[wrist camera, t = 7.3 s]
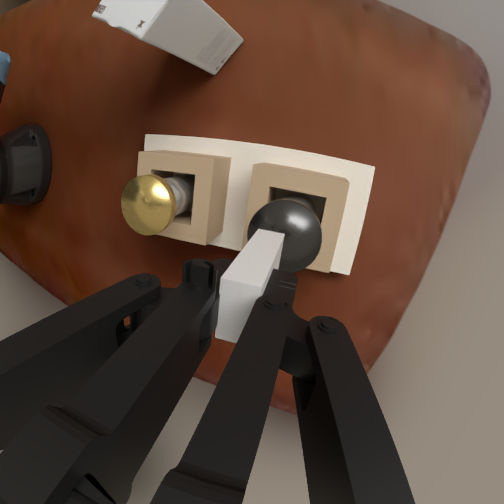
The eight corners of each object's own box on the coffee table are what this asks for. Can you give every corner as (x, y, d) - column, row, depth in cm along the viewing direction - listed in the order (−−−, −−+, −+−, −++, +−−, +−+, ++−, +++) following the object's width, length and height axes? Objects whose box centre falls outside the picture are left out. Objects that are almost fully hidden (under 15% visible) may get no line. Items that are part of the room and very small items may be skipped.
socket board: (148, 224, 37) (116, 240, 31) (154, 134, 33) (119, 133, 26) (348, 268, 33) (352, 296, 26) (371, 166, 28) (385, 169, 22)
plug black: (267, 230, 30) (242, 264, 21) (275, 181, 28) (252, 194, 19) (317, 241, 29) (312, 280, 20) (327, 191, 27) (329, 209, 19)
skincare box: (245, 40, 26) (191, -21, 13) (214, 79, 29) (141, 41, 15) (194, 14, 26) (126, -37, 13) (166, 50, 29) (86, 15, 15)
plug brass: (169, 208, 33) (121, 229, 25) (173, 164, 31) (122, 172, 23) (210, 215, 32) (169, 240, 24) (215, 170, 30) (172, 178, 22)
